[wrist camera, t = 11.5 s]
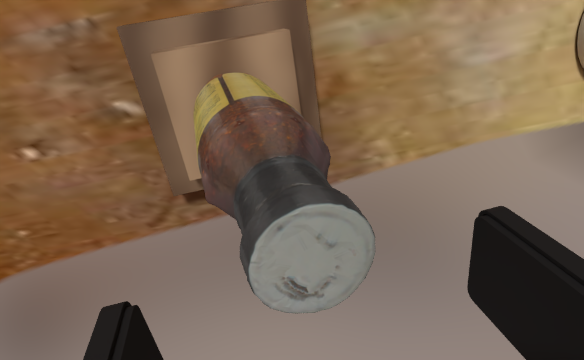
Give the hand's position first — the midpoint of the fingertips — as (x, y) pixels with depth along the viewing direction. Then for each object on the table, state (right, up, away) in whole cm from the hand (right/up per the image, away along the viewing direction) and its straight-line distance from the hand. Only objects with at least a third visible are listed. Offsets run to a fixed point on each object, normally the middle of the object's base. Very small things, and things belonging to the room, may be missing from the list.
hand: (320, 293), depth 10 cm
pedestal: (-6, +10, +22) cm, 25 cm away
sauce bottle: (-5, +9, +18) cm, 21 cm away
